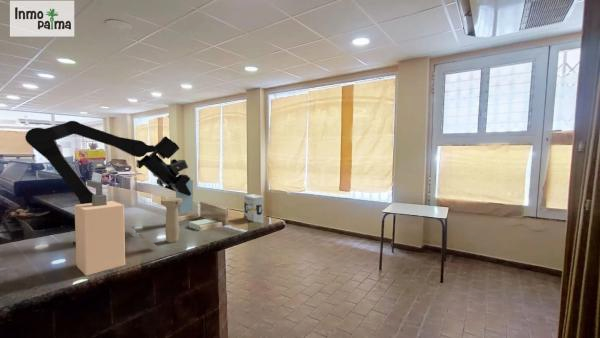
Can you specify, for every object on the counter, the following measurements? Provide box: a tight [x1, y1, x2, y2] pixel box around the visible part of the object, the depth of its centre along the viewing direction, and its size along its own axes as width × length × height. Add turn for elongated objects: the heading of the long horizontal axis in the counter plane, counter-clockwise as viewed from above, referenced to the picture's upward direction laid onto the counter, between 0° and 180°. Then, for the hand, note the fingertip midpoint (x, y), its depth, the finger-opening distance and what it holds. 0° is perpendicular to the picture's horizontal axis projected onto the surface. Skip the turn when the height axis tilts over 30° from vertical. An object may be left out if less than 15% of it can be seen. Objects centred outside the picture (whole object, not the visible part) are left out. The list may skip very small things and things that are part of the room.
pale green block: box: [188, 218, 217, 231], centre depth 107 cm, size 8×6×2 cm
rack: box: [178, 201, 229, 232], centre depth 112 cm, size 12×20×8 cm, turn 47°
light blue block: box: [175, 179, 194, 214], centre depth 110 cm, size 5×4×12 cm
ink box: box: [243, 193, 265, 224], centre depth 120 cm, size 9×5×12 cm, turn 42°
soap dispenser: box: [74, 179, 126, 276], centre depth 74 cm, size 13×9×22 cm
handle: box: [160, 197, 183, 243], centre depth 89 cm, size 5×6×15 cm
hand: (187, 194), depth 111 cm, fingers closed on light blue block, 4 cm apart
